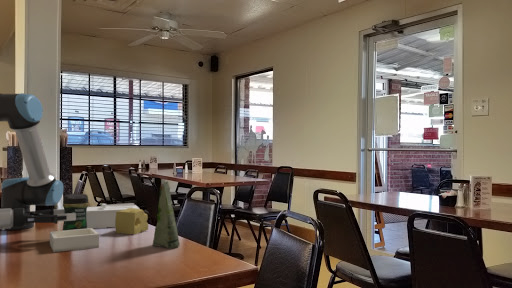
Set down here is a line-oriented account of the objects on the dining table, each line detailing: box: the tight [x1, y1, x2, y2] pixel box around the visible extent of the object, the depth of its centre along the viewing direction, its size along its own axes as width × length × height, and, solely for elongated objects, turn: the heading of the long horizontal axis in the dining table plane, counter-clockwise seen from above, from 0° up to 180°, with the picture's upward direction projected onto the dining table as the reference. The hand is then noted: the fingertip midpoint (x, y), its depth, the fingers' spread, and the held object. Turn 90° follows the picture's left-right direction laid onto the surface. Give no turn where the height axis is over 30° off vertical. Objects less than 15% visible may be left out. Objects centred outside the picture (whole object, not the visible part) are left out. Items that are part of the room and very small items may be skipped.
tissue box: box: [86, 202, 140, 229], centre depth 199 cm, size 14×25×11 cm, turn 114°
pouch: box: [151, 180, 180, 249], centre depth 157 cm, size 11×12×25 cm
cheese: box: [114, 208, 149, 235], centre depth 183 cm, size 10×11×10 cm
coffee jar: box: [61, 193, 90, 231], centre depth 167 cm, size 10×8×19 cm
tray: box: [49, 228, 100, 253], centre depth 155 cm, size 13×15×5 cm
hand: (73, 214), depth 166 cm, fingers open, 13 cm apart
